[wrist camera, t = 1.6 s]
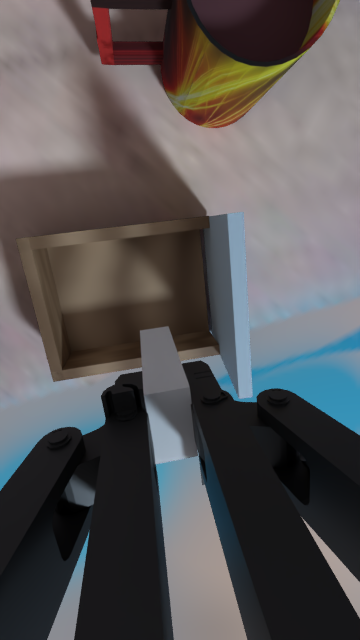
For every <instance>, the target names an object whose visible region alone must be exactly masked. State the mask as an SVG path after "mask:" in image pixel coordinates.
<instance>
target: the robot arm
mask: <svg viewBox="0 0 360 640" xmlns="http://www.w3.org/2000/svg"><path fill="white" fill-rule="evenodd" d="M140 342H141V359H142V371H141V372H134V373H128V374H122V375H120V376H119V377H118V379H117V380H116V381H115V385H113V386H111V387H109V388H107V389H106V390H105V391H104V392H103V393H102V395H101V399H102V403H103V408H104V412H105V417H106V420H105V424H104V425H103V426H102V427H100V428H99V429H97V430H95V431H92V432H90V433H88V434H85V435H82V433H81V431H80V430H79V429H77V428H75V427H65V428H59V429H57V430H54V431H52V432H50V433H48V434H47V435H45V436H44V437H43V438H42V439H41V440H40V441H39V442H38V443H37V444H36V445H35V447H34V448H33V449H32V451H31V452H30V453H29V454H28V456H27V457H26V458H25V460H24V461H23V462H22V464H21V465H20V466H19V467H18V469H17V470H16V471H15V473H14V474H13V475H12V476H11V478H10V479H9V480H8V482H7V483H6V484H5V485H4V487H3V488H2V490H1V491H0V640H47V638H48V636H49V633H50V631H51V628H52V625H53V623H54V620H55V618H56V615H57V612H58V610H59V607H60V605H61V602H62V600H63V597H64V595H65V592H66V589H67V587H68V584H69V582H70V579H71V576H72V574H73V571H74V568H75V566H76V564H77V561H78V558H79V556H80V553H81V551H82V548H83V546H84V543H85V541H86V538H87V535H88V532H89V530H90V532H89V540H88V547H87V554H86V561H85V568H84V575H83V582H82V589H81V596H80V603H79V610H78V617H77V624H76V631H75V638H74V640H174V638H173V627H172V619H171V618H172V617H171V607H170V597H169V587H168V577H167V567H166V557H165V547H164V537H163V527H162V517H161V506H160V496H159V486H158V477H157V471H156V464H160V463H165V462H170V461H175V460H180V459H185V458H190V457H195V456H198V453H199V461H200V470H201V478H202V485H204V484H205V486H206V490H207V493H208V497H209V501H210V505H211V508H212V512H213V515H214V519H215V523H216V526H217V530H218V534H219V537H220V541H221V545H222V548H223V552H224V555H225V559H226V563H227V567H228V570H229V573H230V578H231V581H232V585H233V588H234V592H235V596H236V599H237V603H238V606H239V610H240V614H241V617H242V621H243V625H244V629H245V632H246V636H247V640H360V618H359V617H358V615H357V613H356V611H355V610H354V608H353V606H352V604H351V603H350V601H349V599H348V597H347V596H346V594H345V592H344V591H343V589H342V587H341V585H340V584H339V582H338V580H337V578H336V577H335V575H334V573H333V572H332V570H331V568H330V566H329V565H328V563H327V561H326V559H325V558H324V556H323V554H322V552H321V551H320V549H319V547H318V545H317V544H316V542H315V540H314V539H313V537H312V535H311V533H310V531H309V530H308V528H307V526H306V524H305V523H304V521H303V519H304V520H305V521H306V522H307V523H308V524H309V526H310V527H311V528H312V529H313V530H314V531H315V532H316V533H317V535H318V536H319V537H320V538H321V539H322V540H323V541H324V542H325V544H326V545H327V546H328V547H329V548H330V549H331V550H332V551H333V552H334V553H335V555H336V556H337V557H338V558H339V559H340V560H341V561H342V563H343V564H344V565H345V566H346V567H347V568H348V569H349V571H350V572H351V573H352V574H353V575H354V576H355V577H356V578H357V579H358V581H360V435H358V434H357V433H355V432H353V431H352V430H350V429H349V428H347V427H346V426H344V425H343V424H341V423H339V422H338V421H336V420H335V419H333V418H332V417H330V416H329V415H327V414H326V413H324V412H322V411H321V410H319V409H318V408H316V407H315V406H313V405H311V404H310V403H308V402H307V401H305V400H304V399H302V398H301V397H299V396H297V395H296V394H295V393H292V392H290V391H288V390H283V389H269V390H265V391H263V392H261V393H259V395H258V396H257V402H239V401H234V399H233V398H232V396H231V395H230V394H229V393H228V392H226V391H224V390H222V389H221V388H220V386H219V384H218V382H217V380H216V378H215V377H214V375H213V373H212V371H211V369H210V367H209V366H208V364H206V363H204V362H202V361H195V362H189V363H183V364H181V361H180V358H179V355H178V352H177V349H176V347H175V344H174V341H173V338H172V335H171V332H170V329H169V327H168V326H166V327H160V328H153V329H147V330H140ZM197 450H198V453H197ZM301 517H302V518H303V519H302V518H301Z"/></svg>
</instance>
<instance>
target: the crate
mask: <svg viewBox="0 0 360 640" xmlns="http://www.w3.org/2000/svg"><path fill="white" fill-rule="evenodd" d="M206 228H210V224H209V216H204V217H196V218H187V219H179V220H170V221H162V222H153V223H145V224H136V225H128V226H119V227H111V228H103V229H94V230H86V231H77V232H69V233H60V234H52V235H43V236H35V237H26V238H18V239H16V242H17V246H18V250H19V254H20V257H21V261H22V265H23V269H24V273H25V276H26V280H27V284H28V288H29V291H30V295H31V299H32V303H33V306H34V310H35V314H36V318H37V322H38V325H39V329H40V333H41V337H42V340H43V344H44V348H45V352H46V356H47V359H48V363H49V367H50V371H51V374H52V378H53V382H55V381H61V380H67V379H73V378H79V377H85V376H91V375H98V374H104V373H110V372H116V371H122V370H128V369H134V368H140V367H142V359H141V342H140V330H147V329H153V328H160V327H166V326H168V327H169V329H170V332H171V335H172V338H173V341H174V344H175V347H176V349H177V352H178V355H179V358H180V361H183V360H189V359H195V358H201V357H208V356H214V355H220V348H219V344H218V343H217V341H216V340H215V338H214V337H213V336H212V334H211V333H210V331H209V326H208V315H207V304H206V293H205V282H204V271H203V260H202V249H201V238H200V229H206Z"/></svg>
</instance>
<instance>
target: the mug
mask: <svg viewBox="0 0 360 640" xmlns="http://www.w3.org/2000/svg"><path fill="white" fill-rule="evenodd" d="M339 2H340V0H91V5H92V10H93V15H94V20H95V25H96V34H97V42H98V47H99V52H100V57H101V62H102V64H104V65H161V75H162V80H163V85H164V87H165V90H166V93H167V95H168V97H169V99H170V101H171V102H172V104H173V106H174V107H175V108H176V109H177V110H178V112H179V113H180V114H181V115H182V116H184V117H185V118H186V119H187V120H189V121H191V122H193V123H194V124H196V125H199V126H203V127H206V128H219V127H224V126H228V125H230V124H232V123H234V122H236V121H237V120H239V119H240V118H242V117H243V116H244V115H245V114H246V113H247V112H248V111H249V110H250V109H251V108H252V107H253V106H254V105H255V104H256V103H257V102H258V101H259V100H260V99H261V98H262V97H263V96H264V94H265V93H266V92H267V91H268V90H269V89H270V88H271V87H272V86H273V85H274V84H275V83H276V82H277V81H278V80H279V79H280V78H281V77H282V76H283V75H284V74H285V73H286V72H287V71H288V70H289V69H290V68H291V67H292V66H293V65H294V64H295V63H296V62H297V61H298V60H299V59H300V58H301V57H302V56H303V55H304V54H305V53H306V52H307V50H308V49H309V48H310V47H311V46H312V45H313V44H314V43H315V42H316V41H317V40H318V39H319V38H320V37H321V35H322V34H323V32H324V31H325V29H326V28H327V26H328V25H329V23H330V21H331V20H332V18H333V15H334V13H335V11H336V8H337V6H338V4H339ZM109 9H168V12H167V19H166V26H165V32H164V39H163V42H113V41H112V33H111V25H110V17H109Z"/></svg>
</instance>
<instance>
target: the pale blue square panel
mask: <svg viewBox="0 0 360 640" xmlns="http://www.w3.org/2000/svg"><path fill="white" fill-rule="evenodd" d="M209 224H210V228H206V229H203V233H204V244H205V256H206V267H207V279H208V290H209V302H210V313H211V325H212V336H213V337H214V338H215V340H216V341H217V343H218V344H219V348H220V355H221V358H222V360H223V362H224V365H225V367H226V369H227V372H228V374H229V376H230V379H231V381H232V383H233V386H234V388H235V390H236V393H237V395H238V397H239V399H241V398H249V397H252V376H251V357H250V356H251V355H250V335H249V314H248V293H247V273H246V252H245V231H244V212H239V213H230V214H223V215H216V216H210V217H209Z"/></svg>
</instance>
